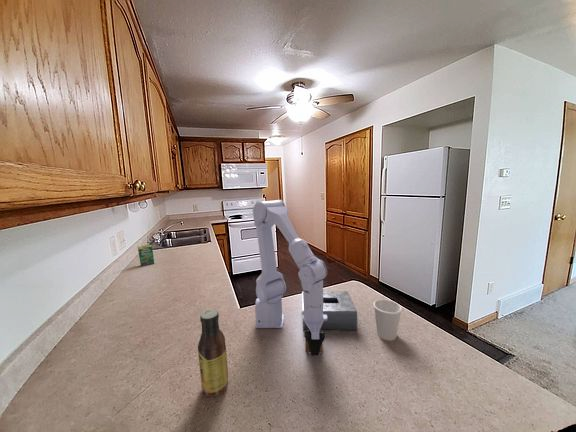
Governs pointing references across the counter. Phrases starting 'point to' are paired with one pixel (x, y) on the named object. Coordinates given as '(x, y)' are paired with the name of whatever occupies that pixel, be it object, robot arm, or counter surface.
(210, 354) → the sauce bottle
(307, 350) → the brown block
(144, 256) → the coffee box
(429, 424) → the counter surface
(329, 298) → the money box
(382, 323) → the dixie cup
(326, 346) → the counter surface
